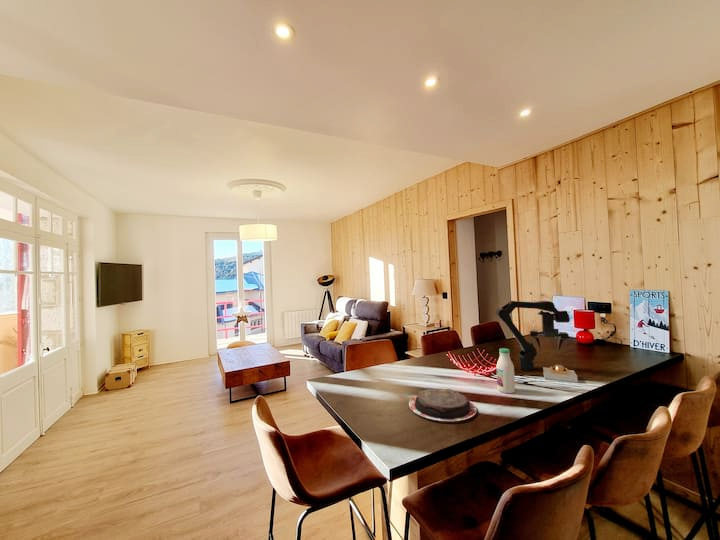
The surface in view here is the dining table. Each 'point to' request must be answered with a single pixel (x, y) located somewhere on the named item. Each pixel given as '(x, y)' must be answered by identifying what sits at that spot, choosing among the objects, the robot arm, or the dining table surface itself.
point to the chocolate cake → (442, 406)
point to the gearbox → (560, 375)
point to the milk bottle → (505, 372)
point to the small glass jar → (559, 367)
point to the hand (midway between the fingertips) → (549, 349)
